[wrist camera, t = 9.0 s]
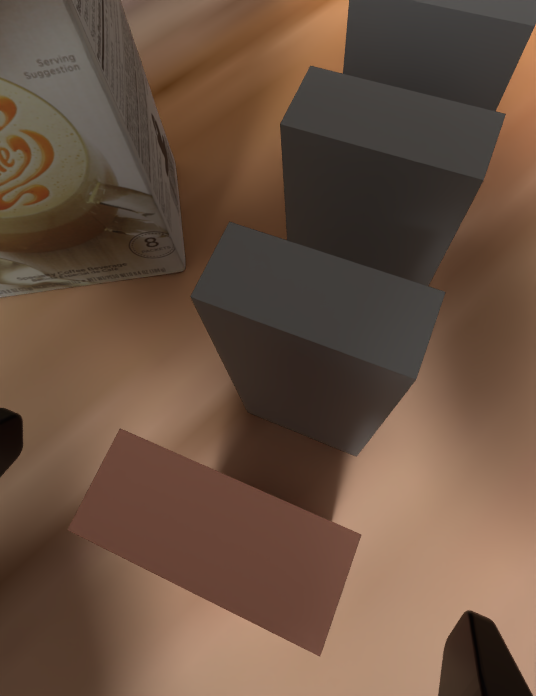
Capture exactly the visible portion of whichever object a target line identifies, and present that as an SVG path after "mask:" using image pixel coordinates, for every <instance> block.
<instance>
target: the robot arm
mask: <svg viewBox="0 0 536 696" xmlns="http://www.w3.org/2000/svg"><path fill="white" fill-rule="evenodd" d="M22 448H23V420H22V417H21V415H19V414H17V413H15V412H13V411H11V410H8V409H6V408H0V477H1V476H2V475H3V474H4V473H5V471H6V470H7V469H8V468H9V467H10V466H11V465H12V464H13V462H14V461H15V460H16V459H17V458H18V457H19V455H20V453H21V451H22ZM438 696H533V695H532V693H531V691H530V689H529V687H528V685H527V683H526V682H525V680H524V678H523V676H522V674H521V672H520V670H519V668H518V666H517V665H516V663H515V661H514V659H513V657H512V655H511V653H510V651H509V649H508V648H507V646H506V644H505V642H504V640H503V638H502V636H501V634H500V632H499V630H498V629H497V627H496V625H495V623H494V622H493V621H492V620H491V619H489V618H487V617H485V616H482V615H480V614H478V613H476V612H473V611H470V610H468V611H466V612H464V614H463V615H462V616H461V618H460V619H459V621H458V622H457V624H456V626H455V627H454V629H453V630H452V632H451V633H450V635H449V636H448V638H447V641H446V643H445V647H444V652H443V660H442V669H441V677H440V685H439V693H438Z"/></svg>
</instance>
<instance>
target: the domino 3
mask: <svg viewBox="0 0 536 696" xmlns="http://www.w3.org/2000/svg"><path fill="white" fill-rule="evenodd" d="M444 295H445V292H444V291H441V290H438V289H435V288H432V287H428V286H425V285H422V284H419V283H416V282H413V281H410V280H407V279H404V278H401V277H398V276H395V275H392V274H389V273H385V272H382V271H379V270H376V269H373V268H370V267H367V266H364V265H361V264H358V263H355V262H352V261H349V260H346V259H343V258H339V257H336V256H333V255H330V254H327V253H324V252H321V251H318V250H315V249H312V248H309V247H306V246H303V245H300V244H296V243H293V242H290V241H287V240H284V239H281V238H278V237H275V236H272V235H269V234H266V233H263V232H260V231H257V230H254V229H250V228H247V227H244V226H241V225H238V224H235V223H232V222H229V223H228V225H227V227H226V229H225V231H224V233H223V235H222V237H221V239H220V241H219V243H218V245H217V246H216V248H215V250H214V252H213V254H212V256H211V258H210V260H209V262H208V264H207V266H206V268H205V270H204V271H203V273H202V275H201V277H200V279H199V281H198V283H197V285H196V287H195V289H194V291H193V293H192V295H191V299H192V301H193V303H194V305H195V307H196V309H197V311H198V313H199V315H200V317H201V319H202V321H203V323H204V325H205V327H206V329H207V331H208V333H209V335H210V337H211V340H212V342H213V344H214V346H215V348H216V350H217V352H218V354H219V356H220V358H221V360H222V362H223V364H224V366H225V368H226V370H227V372H228V374H229V376H230V378H231V380H232V382H233V384H234V386H235V388H236V390H237V392H238V394H239V396H240V398H241V400H242V402H243V404H244V406H245V408H246V410H247V412H249V413H251V414H253V415H256V416H258V417H261V418H263V419H266V420H268V421H271V422H273V423H275V424H278V425H280V426H283V427H285V428H288V429H290V430H293V431H295V432H298V433H300V434H302V435H305V436H307V437H310V438H312V439H315V440H317V441H320V442H322V443H325V444H327V445H329V446H332V447H334V448H337V449H339V450H342V451H344V452H347V453H349V454H351V455H354V456H356V457H357V455H358V454H359V453H360V452H361V450H362V449H363V448H364V446H365V445H366V444H367V443H368V441H369V440H370V439H371V437H372V436H373V435H374V433H375V432H376V431H377V430H378V428H379V427H380V426H381V424H382V423H383V422H384V420H385V419H386V418H387V417H388V415H389V414H390V413H391V411H392V410H393V409H394V408H395V406H396V405H397V404H398V402H399V401H400V400H401V398H402V397H403V396H404V395H405V393H406V392H407V391H408V389H409V388H410V387H411V385H412V384H413V383H414V382H415V380H416V378H417V375H418V372H419V369H420V366H421V363H422V361H423V358H424V355H425V352H426V349H427V346H428V343H429V340H430V337H431V334H432V331H433V328H434V325H435V322H436V319H437V316H438V313H439V310H440V307H441V304H442V301H443V298H444Z"/></svg>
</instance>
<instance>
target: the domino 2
mask: <svg viewBox="0 0 536 696" xmlns="http://www.w3.org/2000/svg"><path fill="white" fill-rule="evenodd" d="M505 115H506V114H504V113H500V112H496V111H492V110H488V109H484V108H480V107H475V106H471V105H467V104H463V103H459V102H455V101H451V100H447V99H443V98H439V97H435V96H431V95H427V94H423V93H419V92H415V91H411V90H407V89H403V88H399V87H394V86H390V85H386V84H382V83H378V82H374V81H370V80H366V79H362V78H358V77H354V76H350V75H346V74H342V73H338V72H334V71H330V70H326V69H322V68H318V67H314V66H310V67H309V69H308V71H307V73H306V75H305V77H304V79H303V81H302V83H301V85H300V87H299V89H298V91H297V93H296V94H295V96H294V98H293V100H292V102H291V104H290V106H289V108H288V110H287V112H286V114H285V116H284V118H283V120H282V122H281V123H280V129H281V146H282V162H283V179H284V196H285V212H286V229H287V241H290V242H293V243H296V244H300V245H303V246H306V247H309V248H312V249H315V250H318V251H321V252H324V253H327V254H330V255H333V256H336V257H339V258H343V259H346V260H349V261H352V262H355V263H358V264H361V265H364V266H367V267H370V268H373V269H376V270H379V271H382V272H385V273H389V274H392V275H395V276H398V277H401V278H404V279H407V280H410V281H413V282H416V283H419V284H422V285H425V286H429V284H430V282H431V280H432V278H433V276H434V274H435V272H436V270H437V268H438V266H439V264H440V263H441V261H442V259H443V257H444V255H445V253H446V251H447V249H448V247H449V245H450V243H451V241H452V240H453V238H454V236H455V234H456V232H457V230H458V228H459V226H460V224H461V222H462V220H463V218H464V217H465V215H466V213H467V211H468V209H469V207H470V205H471V203H472V201H473V199H474V197H475V195H476V194H477V192H478V190H479V188H480V186H481V184H482V182H483V180H484V177H485V174H486V171H487V168H488V165H489V162H490V159H491V156H492V153H493V151H494V148H495V145H496V142H497V139H498V136H499V133H500V130H501V127H502V124H503V121H504V118H505Z"/></svg>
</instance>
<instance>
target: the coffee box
mask: <svg viewBox="0 0 536 696" xmlns="http://www.w3.org/2000/svg"><path fill="white" fill-rule="evenodd" d="M185 266H186V263H185V251H184V241H183V231H182V221H181V211H180V200H179V190H178V182H177V173H176V164H175V160H174V157H173V154H172V151H171V149H170V146H169V143H168V140H167V137H166V134H165V131H164V128H163V125H162V122H161V120H160V117H159V114H158V111H157V108H156V105H155V102H154V99H153V96H152V93H151V90H150V86H149V84H148V81H147V78H146V75H145V72H144V69H143V66H142V62H141V59H140V57H139V54H138V51H137V48H136V45H135V42H134V39H133V37H132V34H131V30H130V27H129V24H128V22H127V19H126V16H125V13H124V10H123V7H122V3H121V1H120V0H0V297H6V296H14V295H20V294H27V293H35V292H42V291H48V290H55V289H62V288H70V287H77V286H85V285H92V284H98V283H106V282H113V281H120V280H127V279H134V278H142V277H149V276H155V275H163V274H169V273H175V272H181V271H184V270H185Z"/></svg>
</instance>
